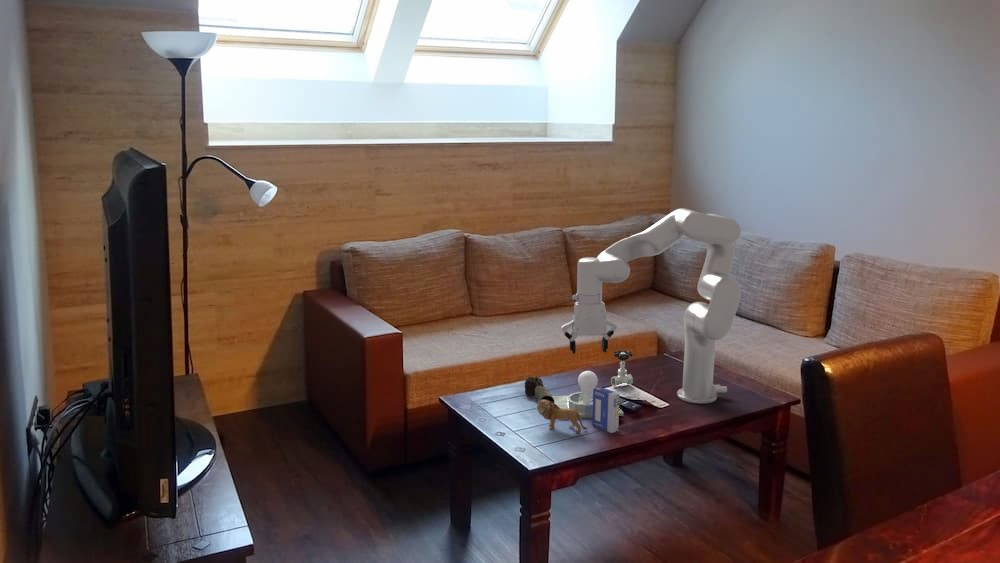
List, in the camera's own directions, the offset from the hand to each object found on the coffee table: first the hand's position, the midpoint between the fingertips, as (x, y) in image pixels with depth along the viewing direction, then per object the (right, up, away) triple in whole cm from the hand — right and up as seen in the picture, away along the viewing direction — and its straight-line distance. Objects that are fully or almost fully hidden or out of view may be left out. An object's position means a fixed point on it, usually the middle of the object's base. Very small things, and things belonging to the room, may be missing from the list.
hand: (588, 351), depth 248 cm
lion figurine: (-10, -22, -12) cm, 27 cm away
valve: (+14, -14, +23) cm, 30 cm away
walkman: (+4, -22, -11) cm, 25 cm away
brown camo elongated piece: (-15, -16, +13) cm, 26 cm away
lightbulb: (0, -17, +4) cm, 18 cm away
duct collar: (0, -18, +4) cm, 19 cm away
